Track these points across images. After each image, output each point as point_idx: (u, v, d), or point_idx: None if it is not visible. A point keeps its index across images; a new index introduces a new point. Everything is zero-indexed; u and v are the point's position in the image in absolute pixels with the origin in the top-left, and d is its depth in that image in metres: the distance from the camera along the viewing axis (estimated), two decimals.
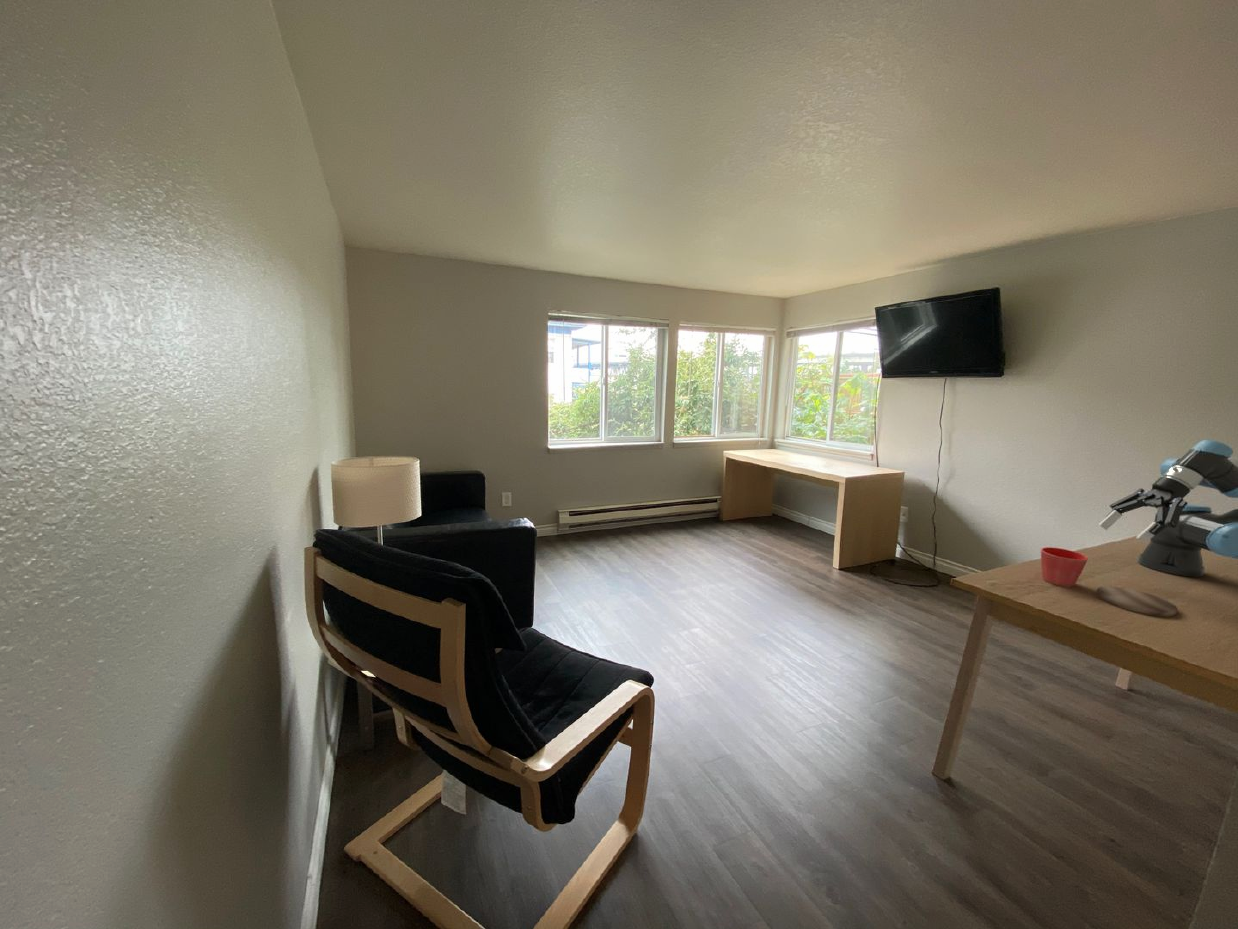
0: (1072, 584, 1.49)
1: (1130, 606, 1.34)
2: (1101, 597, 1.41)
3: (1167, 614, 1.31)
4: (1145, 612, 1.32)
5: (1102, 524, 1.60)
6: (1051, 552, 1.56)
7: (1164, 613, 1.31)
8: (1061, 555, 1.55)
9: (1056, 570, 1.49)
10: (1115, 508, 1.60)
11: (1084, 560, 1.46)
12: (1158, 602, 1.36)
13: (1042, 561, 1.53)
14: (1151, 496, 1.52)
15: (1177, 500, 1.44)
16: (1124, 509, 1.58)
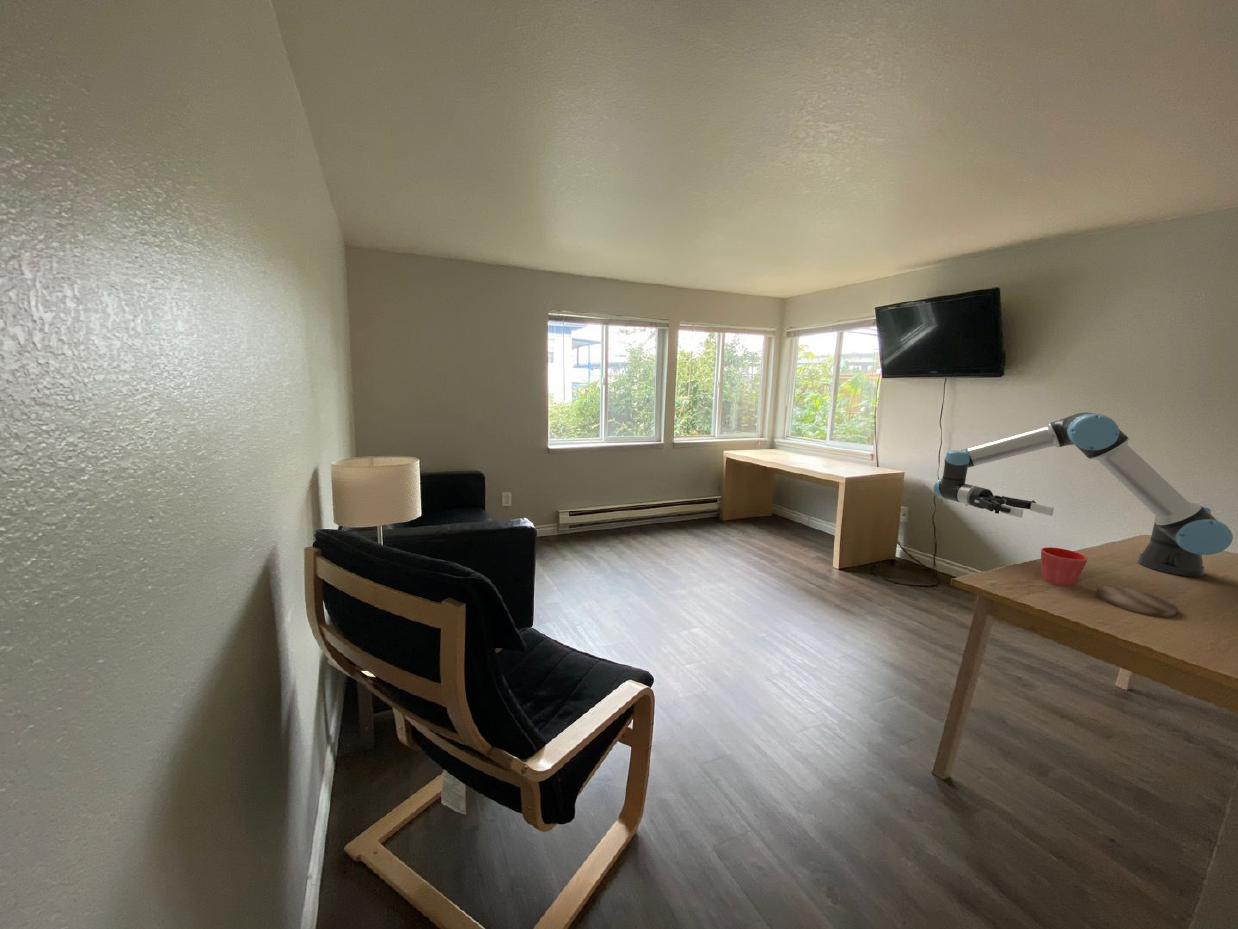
0: (1072, 584, 1.49)
1: (1130, 606, 1.34)
2: (1101, 597, 1.41)
3: (1167, 614, 1.31)
4: (1145, 612, 1.32)
5: (1049, 514, 1.61)
6: (1051, 552, 1.56)
7: (1164, 613, 1.31)
8: (1061, 555, 1.55)
9: (1056, 570, 1.49)
10: (1030, 509, 1.67)
11: (1084, 560, 1.46)
12: (1158, 602, 1.36)
13: (1042, 561, 1.53)
14: None
15: (977, 504, 1.71)
16: (1024, 505, 1.68)
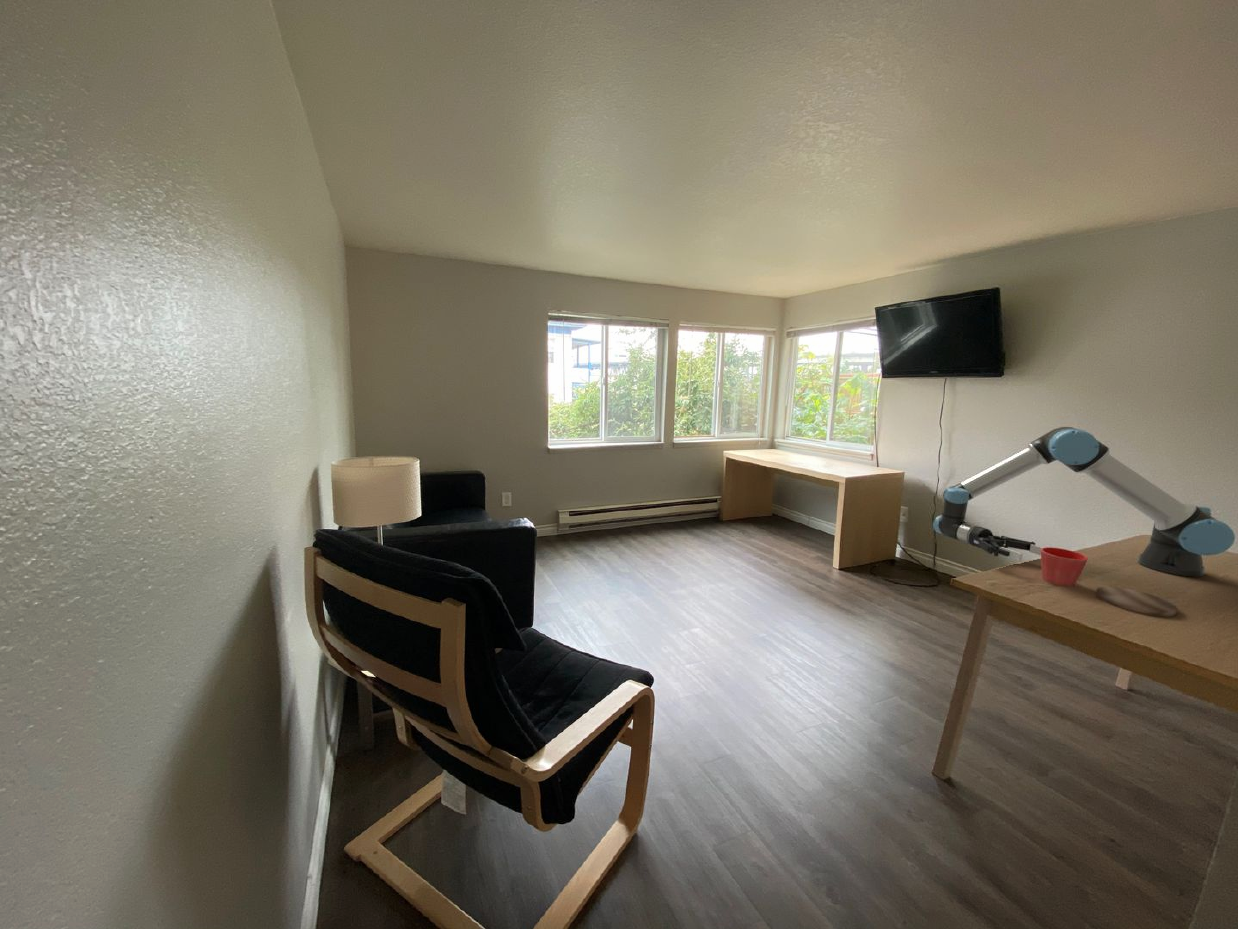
0: (1072, 584, 1.49)
1: (1130, 606, 1.34)
2: (1101, 597, 1.41)
3: (1167, 614, 1.31)
4: (1145, 612, 1.32)
5: None
6: (1051, 552, 1.56)
7: (1164, 613, 1.31)
8: (1061, 555, 1.55)
9: (1056, 570, 1.49)
10: (1029, 550, 1.67)
11: (1084, 560, 1.46)
12: (1158, 602, 1.36)
13: (1042, 561, 1.53)
14: None
15: None
16: (1024, 546, 1.68)
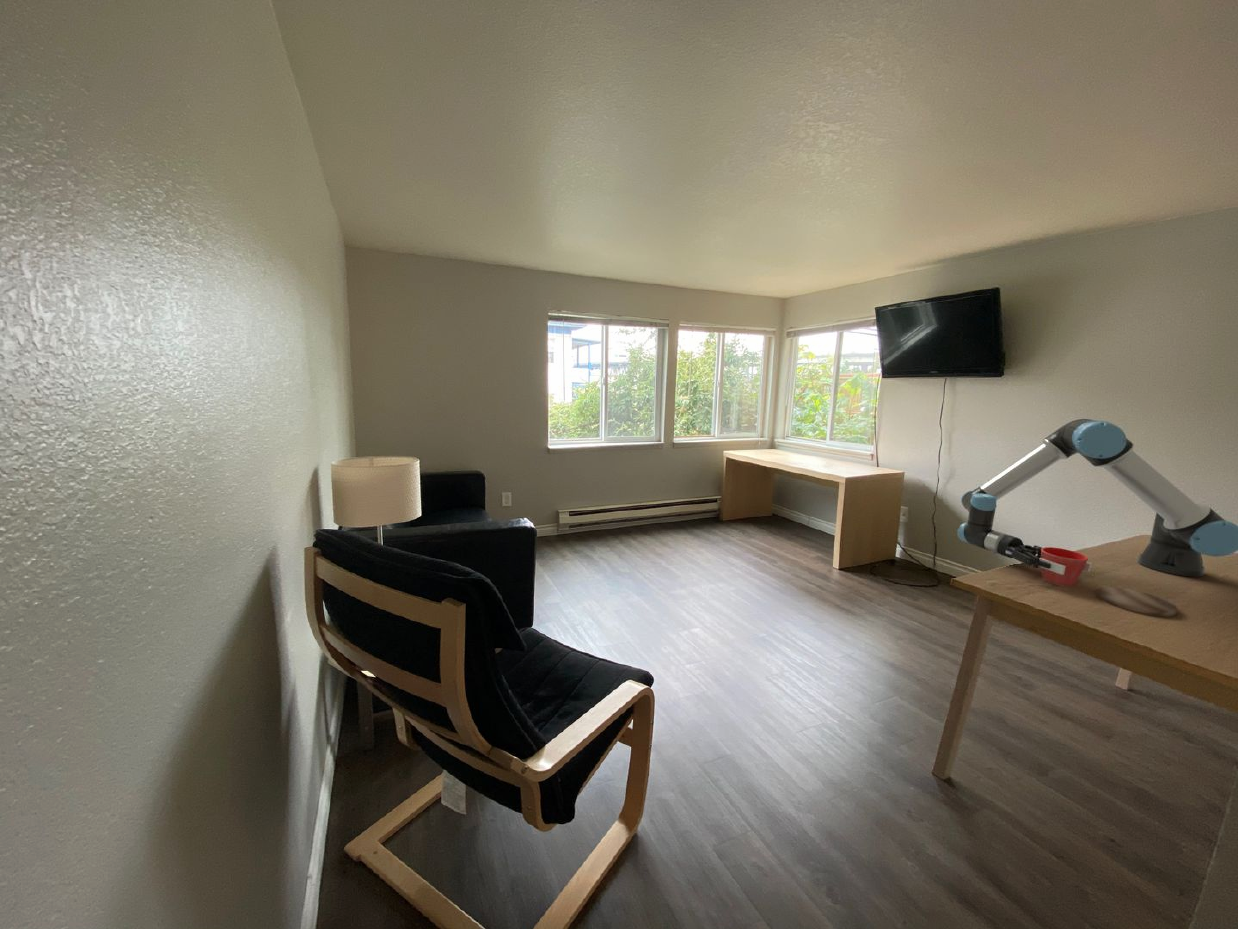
0: (1072, 584, 1.49)
1: (1130, 606, 1.34)
2: (1101, 597, 1.41)
3: (1167, 614, 1.31)
4: (1145, 612, 1.32)
5: (1086, 570, 1.50)
6: (1051, 552, 1.56)
7: (1164, 613, 1.31)
8: (1061, 555, 1.55)
9: None
10: None
11: (1084, 560, 1.46)
12: (1158, 602, 1.36)
13: None
14: None
15: None
16: None
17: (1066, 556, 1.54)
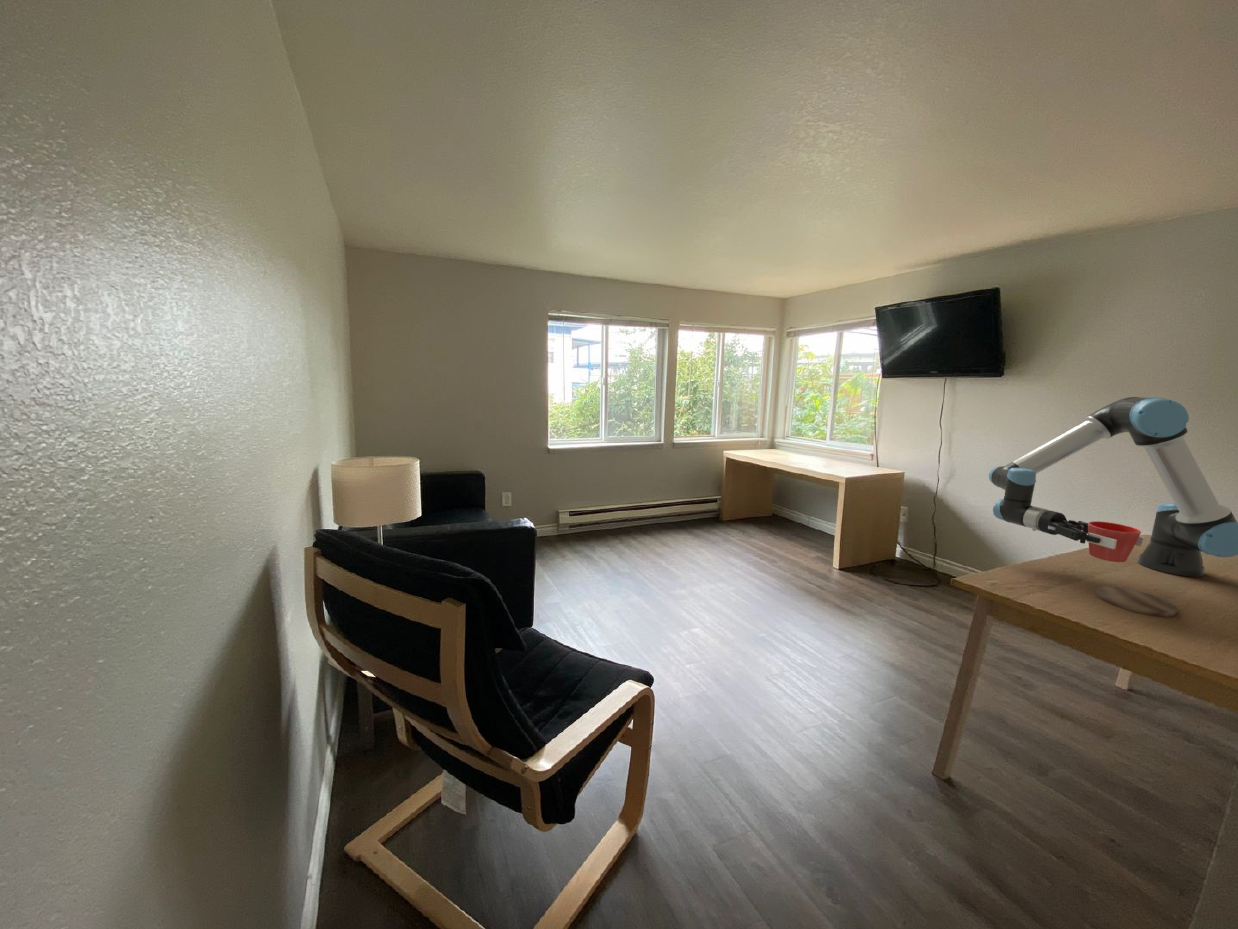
0: (1124, 560, 1.38)
1: (1130, 606, 1.34)
2: (1101, 597, 1.41)
3: (1167, 614, 1.31)
4: (1145, 612, 1.32)
5: (1138, 544, 1.39)
6: (1099, 526, 1.45)
7: (1164, 613, 1.31)
8: (1110, 529, 1.44)
9: None
10: None
11: (1137, 533, 1.36)
12: (1158, 602, 1.36)
13: None
14: None
15: None
16: None
17: (1115, 530, 1.43)
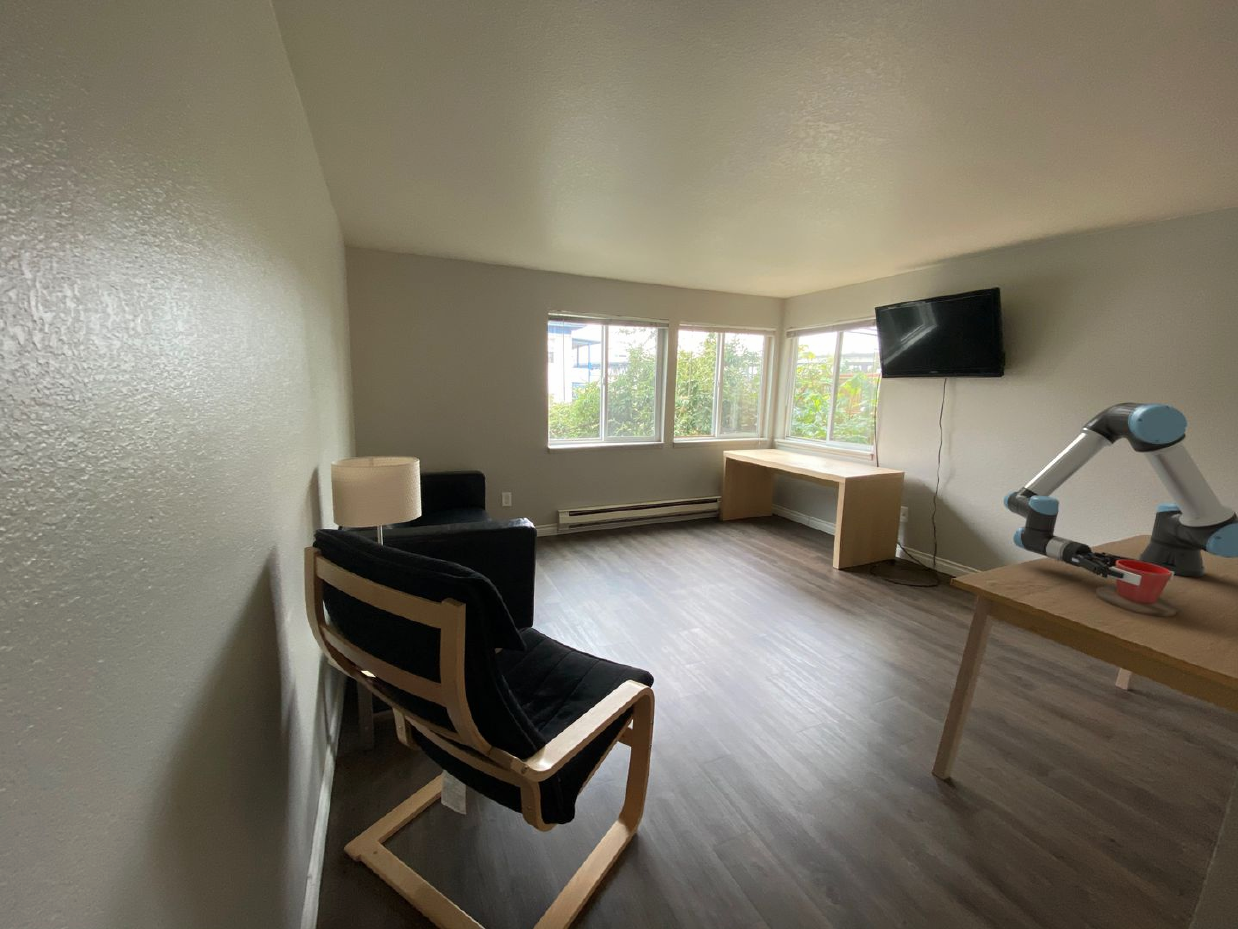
0: (1154, 601, 1.35)
1: (1130, 606, 1.34)
2: (1101, 597, 1.41)
3: (1167, 614, 1.31)
4: (1145, 612, 1.32)
5: None
6: (1126, 565, 1.42)
7: (1164, 613, 1.31)
8: (1138, 568, 1.41)
9: (1136, 585, 1.35)
10: None
11: (1168, 574, 1.32)
12: (1158, 602, 1.36)
13: None
14: None
15: None
16: None
17: (1144, 569, 1.40)
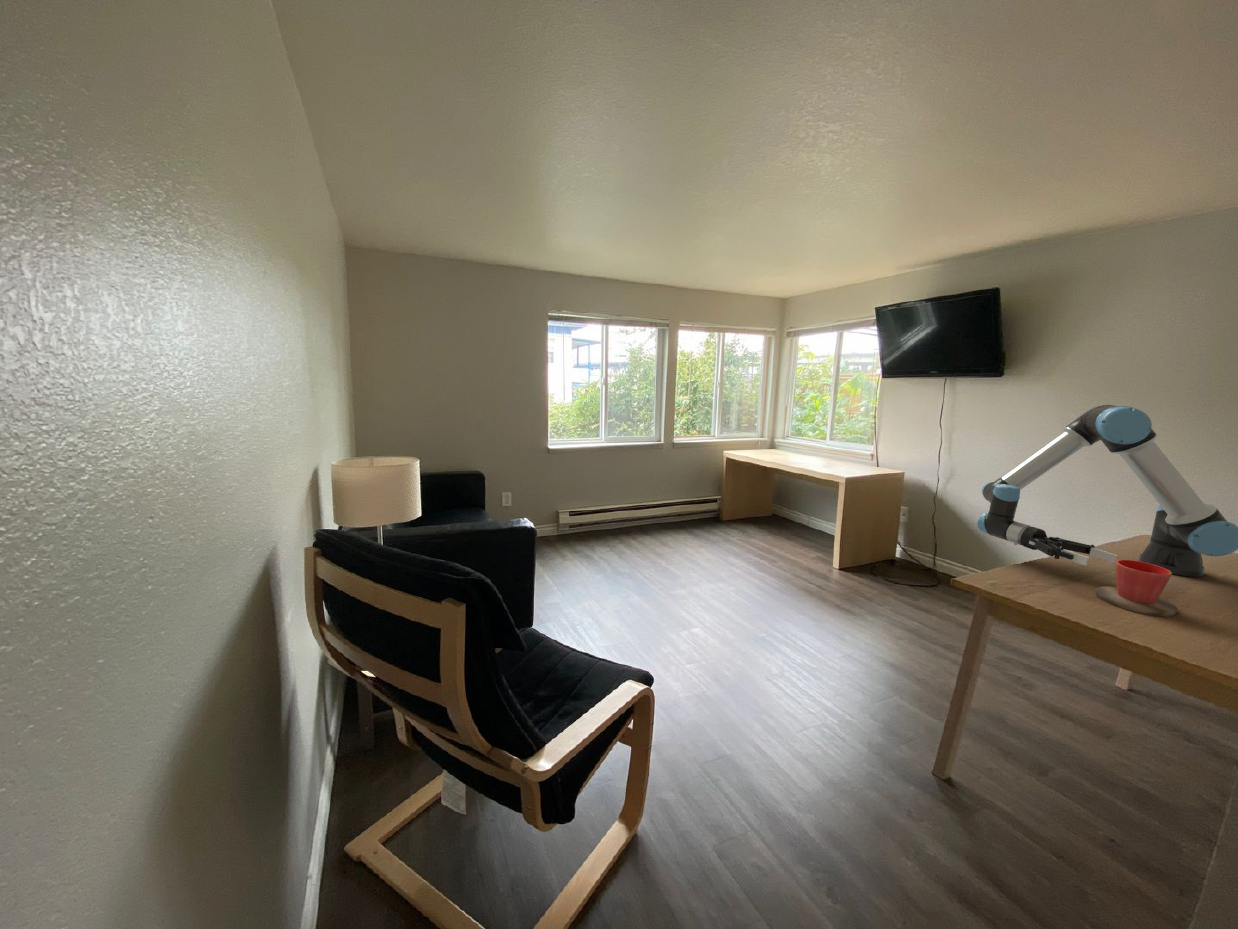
0: (1154, 601, 1.35)
1: (1130, 606, 1.34)
2: (1101, 597, 1.41)
3: (1167, 614, 1.31)
4: (1145, 612, 1.32)
5: (1112, 561, 1.49)
6: (1126, 565, 1.42)
7: (1164, 613, 1.31)
8: (1138, 568, 1.41)
9: (1136, 585, 1.35)
10: None
11: (1169, 575, 1.32)
12: (1158, 602, 1.36)
13: (1118, 575, 1.39)
14: None
15: None
16: (1083, 549, 1.56)
17: (1144, 569, 1.40)
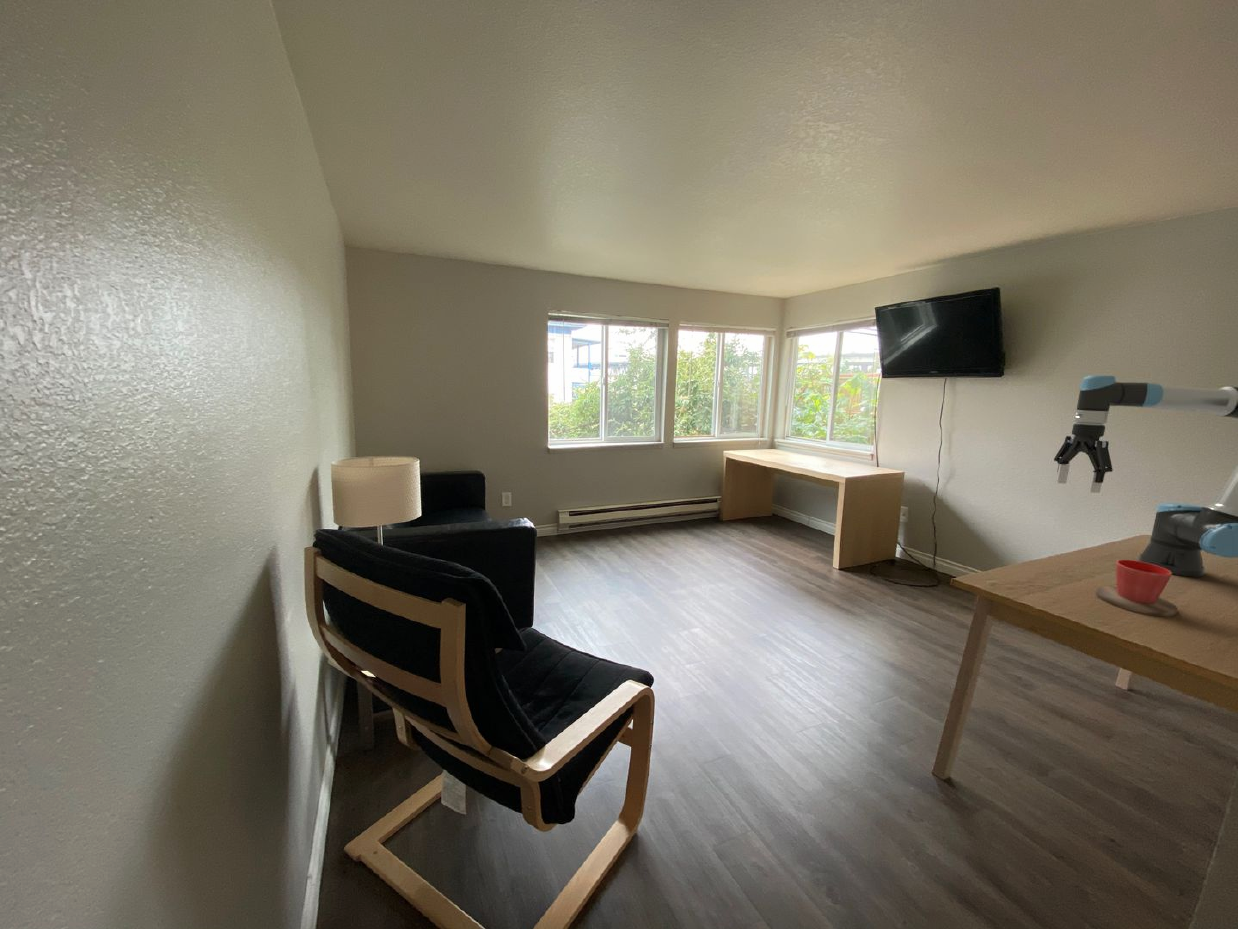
0: (1154, 601, 1.35)
1: (1130, 606, 1.34)
2: (1101, 597, 1.41)
3: (1167, 614, 1.31)
4: (1145, 612, 1.32)
5: (1058, 481, 1.64)
6: (1126, 565, 1.42)
7: (1164, 613, 1.31)
8: (1138, 568, 1.41)
9: (1136, 586, 1.35)
10: (1059, 462, 1.64)
11: (1169, 575, 1.32)
12: (1158, 602, 1.36)
13: (1118, 575, 1.39)
14: (1078, 444, 1.57)
15: (1098, 444, 1.49)
16: (1067, 460, 1.63)
17: (1144, 569, 1.40)
